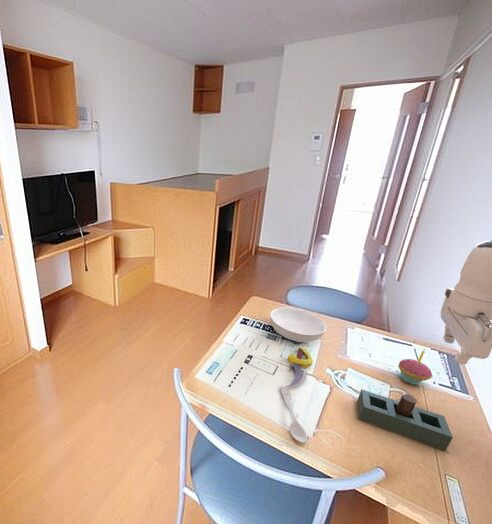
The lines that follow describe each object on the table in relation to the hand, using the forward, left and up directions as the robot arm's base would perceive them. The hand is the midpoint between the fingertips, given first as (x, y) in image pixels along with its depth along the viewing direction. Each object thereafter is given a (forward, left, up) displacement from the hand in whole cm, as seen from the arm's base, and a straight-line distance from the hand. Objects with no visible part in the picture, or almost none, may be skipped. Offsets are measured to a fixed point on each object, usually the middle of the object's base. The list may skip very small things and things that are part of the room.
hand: (453, 351), depth 79 cm
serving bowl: (+36, -28, -25) cm, 52 cm away
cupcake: (-1, -19, -25) cm, 32 cm away
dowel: (+6, +5, -25) cm, 26 cm away
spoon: (+33, +17, -25) cm, 44 cm away
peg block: (+6, +5, -25) cm, 26 cm away
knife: (+33, -5, -25) cm, 42 cm away
